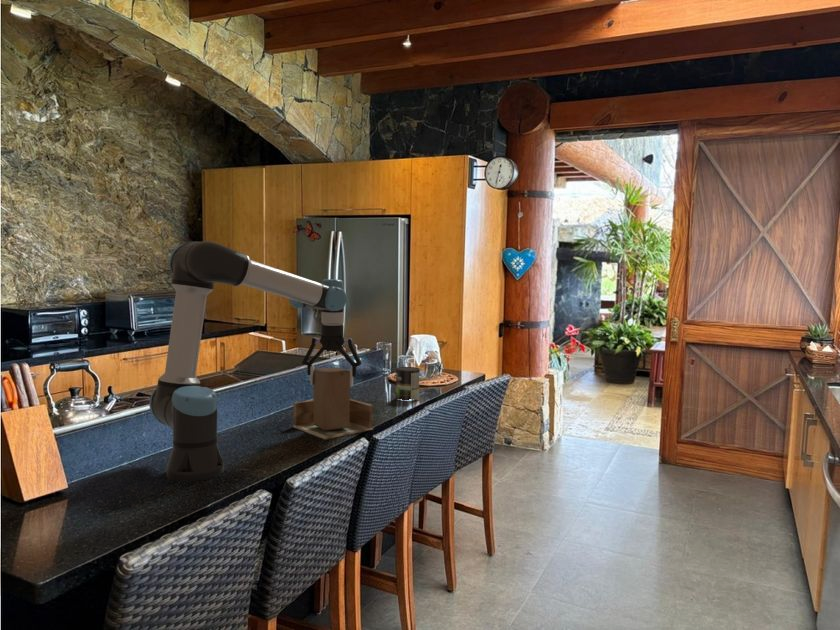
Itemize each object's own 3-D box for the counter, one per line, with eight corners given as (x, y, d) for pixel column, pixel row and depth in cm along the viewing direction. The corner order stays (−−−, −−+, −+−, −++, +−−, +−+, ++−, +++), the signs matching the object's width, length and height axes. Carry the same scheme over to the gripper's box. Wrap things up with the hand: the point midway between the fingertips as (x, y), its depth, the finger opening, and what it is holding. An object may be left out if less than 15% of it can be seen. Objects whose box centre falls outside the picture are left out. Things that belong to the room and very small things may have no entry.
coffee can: (399, 404, 269) (399, 370, 268) (392, 399, 279) (393, 366, 278) (422, 402, 272) (423, 370, 271) (415, 398, 282) (415, 366, 281)
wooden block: (350, 428, 221) (351, 370, 220) (323, 431, 216) (323, 372, 214) (338, 422, 229) (339, 366, 228) (312, 425, 224) (312, 368, 223)
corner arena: (325, 439, 212) (325, 413, 211) (293, 427, 227) (293, 402, 226) (372, 430, 225) (373, 405, 225) (340, 419, 240) (340, 395, 240)
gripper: (369, 324, 224) (369, 384, 225) (299, 322, 225) (298, 382, 226) (367, 326, 216) (366, 388, 218) (293, 324, 217) (293, 386, 219)
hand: (331, 385), depth 222 cm, fingers closed on wooden block, 13 cm apart
